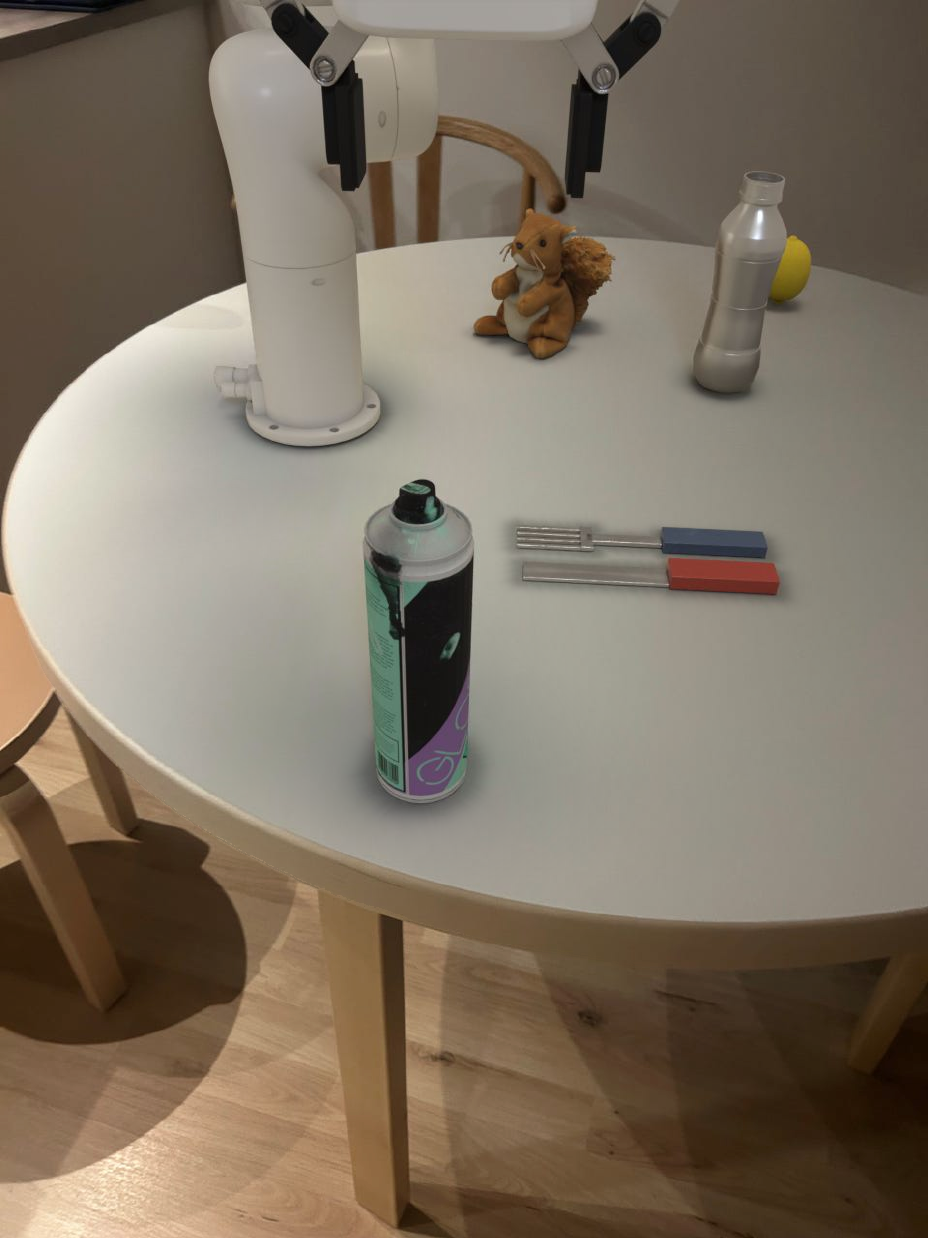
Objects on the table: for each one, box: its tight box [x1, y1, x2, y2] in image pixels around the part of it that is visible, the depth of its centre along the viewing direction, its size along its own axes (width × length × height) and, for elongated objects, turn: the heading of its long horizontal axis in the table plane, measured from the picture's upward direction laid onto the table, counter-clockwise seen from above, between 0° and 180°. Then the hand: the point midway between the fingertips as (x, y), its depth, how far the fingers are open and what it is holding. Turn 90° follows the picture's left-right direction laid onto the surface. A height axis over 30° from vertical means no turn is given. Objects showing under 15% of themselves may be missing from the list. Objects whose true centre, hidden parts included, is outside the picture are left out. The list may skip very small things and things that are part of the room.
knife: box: [522, 557, 781, 595], centre depth 72 cm, size 19×2×1 cm, turn 87°
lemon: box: [768, 235, 812, 305], centre depth 112 cm, size 6×6×8 cm
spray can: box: [362, 478, 475, 804], centre depth 51 cm, size 6×6×20 cm
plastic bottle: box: [692, 170, 788, 393], centre depth 91 cm, size 6×7×20 cm
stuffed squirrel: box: [473, 208, 617, 359], centre depth 102 cm, size 10×14×13 cm
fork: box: [516, 524, 768, 559], centre depth 76 cm, size 20×3×1 cm, turn 87°
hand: (463, 185), depth 42 cm, fingers open, 9 cm apart
